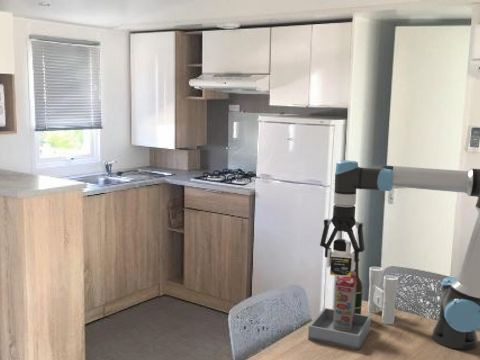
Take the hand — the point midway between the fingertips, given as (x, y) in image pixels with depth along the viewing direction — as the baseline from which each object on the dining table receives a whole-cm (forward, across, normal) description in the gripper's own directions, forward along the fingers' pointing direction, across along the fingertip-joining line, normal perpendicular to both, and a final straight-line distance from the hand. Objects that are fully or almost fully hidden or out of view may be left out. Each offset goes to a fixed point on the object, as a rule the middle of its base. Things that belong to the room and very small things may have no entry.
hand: (340, 268), depth 193 cm
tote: (+26, 0, -4) cm, 27 cm away
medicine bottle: (+2, 0, 0) cm, 2 cm away
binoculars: (+26, -10, -30) cm, 41 cm away
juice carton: (+25, 0, -9) cm, 27 cm away
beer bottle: (+26, 0, -24) cm, 36 cm away
